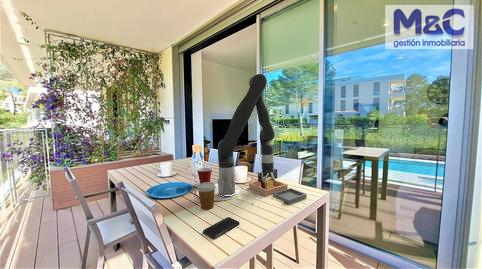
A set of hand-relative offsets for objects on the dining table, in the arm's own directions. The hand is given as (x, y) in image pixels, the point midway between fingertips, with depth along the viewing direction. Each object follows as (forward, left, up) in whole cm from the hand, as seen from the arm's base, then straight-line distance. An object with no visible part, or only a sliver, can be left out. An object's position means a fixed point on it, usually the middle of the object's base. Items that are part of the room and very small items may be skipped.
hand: (267, 186), depth 128 cm
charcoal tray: (+2, -16, -2) cm, 17 cm away
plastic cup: (-29, +31, -2) cm, 43 cm away
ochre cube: (0, 0, -1) cm, 1 cm away
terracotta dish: (0, 0, -2) cm, 2 cm away
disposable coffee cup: (-41, 0, -2) cm, 41 cm away
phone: (-44, -22, -2) cm, 49 cm away
